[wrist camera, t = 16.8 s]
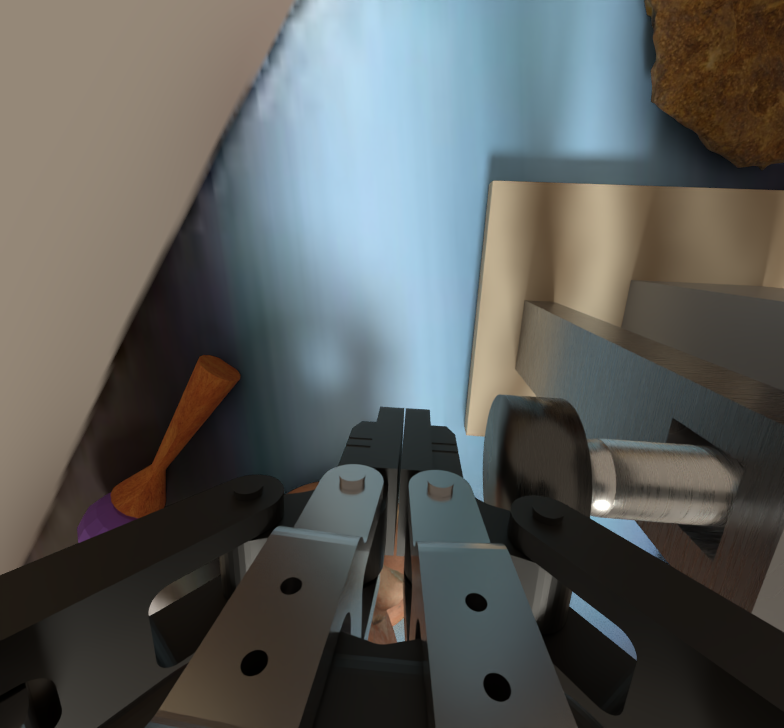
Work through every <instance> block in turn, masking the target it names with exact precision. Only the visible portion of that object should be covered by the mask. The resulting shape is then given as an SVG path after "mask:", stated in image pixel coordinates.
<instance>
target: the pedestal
mask: <svg viewBox="0 0 784 728" xmlns="http://www.w3.org/2000/svg"><path fill="white" fill-rule="evenodd" d="M621 328H623V329H626V330H628V331H631V332H633V333H636V334H638V335H641V336H644V337H646V338H649V339H651V340H654V341H657V342H659V343H662V344H664V345H667V346H669V347H672V348H675V349H677V350H680V351H682V352H685V353H687V354H690V355H693V356H695V357H698V358H700V359H703V360H706V361H708V362H711V363H713V364H716V365H718V366H721V367H724V368H726V369H729V370H731V371H734V372H736V373H739V374H742V375H744V376H747V377H749V378H752V379H755V380H757V381H760V382H762V383H765V384H767V385H770V386H773V387H775V388H778V389H780V390H783V391H784V288H775V287H766V286H749V285H728V284H706V283H685V282H664V281H642V280H631V283H630V287H629V292H628V297H627V302H626V307H625V311H624V316H623V321H622V326H621Z"/></svg>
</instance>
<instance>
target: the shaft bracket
mask: <svg viewBox="0 0 784 728" xmlns="http://www.w3.org/2000/svg"><path fill="white" fill-rule="evenodd" d="M515 370H516V371H517V372H518V374H519V375H520V376H521V377H522V379H523V380H524V381H525V382H526V384H527V385H528V386H529V387H530V389H531V390H532V391H533V393H534V394H535V395H536V396H537V397H548V398H562V399H565V400H567V401H568V402H569V403H571V405H572V406H573V407H574V408H575V410H576V412H577V413H578V415H579V418H580V420H581V422H582V425H583V428H584V431H585V434H586V438H587V439H591V438H599V439H614V440H628V441H643V442H657V443H672V444H686V445H701V446H715V447H718V448H719V449H721V450H722V451H724V452H725V453H727V454H728V455H730V456H731V457H733V458H734V459H736V460H737V461H739V462H740V463H742V464H743V465H745V468H744V471H743V474H742V477H741V480H740V483H739V486H738V489H737V492H736V495H735V498H734V501H733V504H732V507H731V510H730V513H729V516H728V519H727V522H726V525H725V527H714V526H701V525H689V524H676V523H664V522H651V521H639V520H635V521H636V523H637V524H638V525H639V526H640V528H641V529H642V530H643V531H644V533H645V534H646V535H647V537H648V538H649V539H650V540H651V542H652V543H653V544H654V545H655V547H656V548H657V549H658V550H659V552H660V553H661V554H662V556H663V557H664V558H665V559H666V561H667V562H668V563H669V564H670V566H672V567H673V568H675V569H677V570H679V571H680V572H682V573H684V574H685V575H687V576H689V577H690V578H692V579H694V580H696V581H697V582H699V583H701V584H702V585H704V586H706V587H708V588H709V589H711V590H713V591H714V592H716V593H718V594H719V595H721V596H723V597H725V598H726V599H728V600H730V601H731V602H733V603H735V604H736V605H738V606H740V607H742V608H743V609H745V610H747V611H748V612H750V613H752V614H754V615H755V616H757V617H759V618H760V619H762V620H764V621H765V622H767V623H769V624H771V625H772V626H774V627H776V628H777V629H779V630H781V631H782V632H784V391H783V390H780V389H778V388H775V387H773V386H770V385H767V384H765V383H762V382H760V381H757V380H755V379H752V378H749V377H747V376H744V375H742V374H739V373H736V372H734V371H731V370H729V369H726V368H724V367H721V366H718V365H716V364H713V363H711V362H708V361H706V360H703V359H700V358H698V357H695V356H693V355H690V354H687V353H685V352H682V351H680V350H677V349H675V348H672V347H669V346H667V345H664V344H662V343H659V342H657V341H654V340H651V339H649V338H646V337H644V336H641V335H638V334H636V333H633V332H631V331H628V330H626V329H623V328H620V327H618V326H615V325H613V324H610V323H608V322H605V321H602V320H600V319H597V318H595V317H592V316H589V315H587V314H584V313H582V312H579V311H577V310H574V309H571V308H569V307H566V306H564V305H561V304H559V303H556V302H549V301H529V300H525V301H524V308H523V315H522V323H521V330H520V337H519V345H518V352H517V359H516V367H515Z"/></svg>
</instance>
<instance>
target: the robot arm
mask: <svg viewBox="0 0 784 728" xmlns="http://www.w3.org/2000/svg"><path fill="white" fill-rule="evenodd" d="M403 422H404V408H392V407H380V411H379V415H378V419H377V422H367V421H362V422H360V423H359V424H358V425H356V426H355V427H354V428H352V431H351V433H350V436H349V439H348V441H347V444H346V447H345V449H344V452H343V454H342V457H341V460H340V462H339V465H338V467H335V468H333V469H331V470H329V471H327V472H326V473H325V474H324V475H323V477H322V478H321V480H320V482H319V484H318V485H317V487H316V489H314V490H310V491H306V492H300V493H292V494H284V489H283V485H282V483H281V482H280V481H279V480H278V479H276V478H274V477H271V476H267V475H248V476H243V477H239V478H236V479H233V480H231V481H228V482H226V483H223V484H221V485H218V486H216V487H214V488H211V489H209V490H206V491H204V492H201V493H199V494H197V495H194V496H192V497H189V498H187V499H184V500H182V501H180V502H177V503H175V504H172V505H170V506H167V507H165V508H163V509H160V510H158V511H155V512H153V513H150V514H148V515H146V516H143V517H141V518H138V519H136V520H133V521H131V522H129V523H126V524H124V525H121V526H119V527H116V528H114V529H112V530H109V531H107V532H104V533H102V534H99V535H97V536H95V537H92V538H90V539H87V540H85V541H82V542H80V543H78V544H75V545H73V546H70V547H68V548H65V549H63V550H61V551H58V552H56V553H53V554H51V555H48V556H46V557H44V558H41V559H39V560H36V561H34V562H31V563H29V564H27V565H24V566H22V567H19V568H17V569H14V570H12V571H10V572H7V573H5V574H2V575H0V728H784V632H782V631H781V630H779V629H777V628H776V627H774V626H772V625H771V624H769V623H767V622H765V621H764V620H762V619H760V618H759V617H757V616H755V615H754V614H752V613H750V612H748V611H747V610H745V609H743V608H742V607H740V606H738V605H736V604H735V603H733V602H731V601H730V600H728V599H726V598H725V597H723V596H721V595H719V594H718V593H716V592H714V591H713V590H711V589H709V588H708V587H706V586H704V585H702V584H701V583H699V582H697V581H696V580H694V579H692V578H690V577H689V576H687V575H685V574H684V573H682V572H680V571H679V570H677V569H675V568H673V567H672V566H670V565H668V564H667V563H665V562H663V561H661V560H660V559H658V558H656V557H655V556H653V555H651V554H650V553H648V552H646V551H644V550H643V549H641V548H639V547H638V546H636V545H634V544H633V543H631V542H629V541H627V540H626V539H624V538H622V537H621V536H619V535H617V534H615V533H614V532H612V531H610V530H609V529H607V528H605V527H604V526H602V525H600V524H598V523H597V522H595V521H593V520H592V519H590V518H588V517H587V516H585V515H583V514H581V513H580V512H578V511H576V510H575V509H573V508H571V507H569V506H568V505H566V504H564V503H562V502H560V501H558V500H555V499H552V498H548V497H544V496H534V495H531V496H524V497H520V498H518V499H516V500H515V501H514V502H513V503H512V505H511V510H510V511H509V510H506V509H502V508H498V507H495V506H492V505H489V504H486V503H484V502H482V501H480V500H478V499H477V498H475V496H474V493H473V490H472V488H471V486H470V484H469V483H468V482H467V481H466V480H465V479H464V478H463V474H462V469H461V464H460V459H459V454H458V448H457V443H456V437H455V434H454V433H453V432H452V431H451V430H449V429H448V428H447V427H446V426H431V424H430V410H425V409H409V408H406V415H405V426H404V437H403ZM402 442H403V449H402ZM399 488H400V493H399ZM398 499H399V513H398V533H397V552H396V556H404V576H403V604H404V629H405V641H404V642H397V643H391V644H376V643H373V642H370V641H368V636H369V632H370V627H371V622H372V618H373V613H374V608H375V604H376V599H377V594H378V590H379V585H380V572H381V570H382V568H383V563H384V555H390V556H394V545H395V534H396V522H397V511H398ZM218 557H219V560H220V570H221V575H220V576H218V577H216V578H215V579H213V580H211V581H210V582H208V583H206V584H204V585H203V586H201V587H199V588H197V589H196V590H194V591H192V592H191V593H189V594H187V595H185V596H184V597H182V598H180V599H178V600H177V601H175V602H173V603H172V604H170V605H168V606H166V607H165V608H163V609H161V610H160V611H158V612H156V613H154V614H153V615H151V616H149V615H148V611H149V607H150V604H151V602H152V600H153V599H154V597H155V596H156V595H157V594H158V593H159V592H160V591H161V590H162V589H163V588H164V587H166V586H167V585H169V584H171V583H172V582H174V581H176V580H178V579H180V578H182V577H183V576H185V575H187V574H189V573H191V572H193V571H194V570H196V569H198V568H200V567H202V566H204V565H205V564H207V563H209V562H211V561H213V560H215V559H216V558H218ZM572 591H573V592H574V593H575V594H577V595H578V596H579V597H580V598H582V599H583V600H584V601H586V602H587V603H588V604H590V605H591V606H592V607H593V608H595V609H596V610H597V611H599V612H600V613H601V614H603V615H604V616H605V617H606V618H608V619H609V620H610V621H612V622H613V623H614V624H616V625H617V626H618V627H619V628H620V629H621V630H622V631H623V632H624V633H625V634H626V635H627V636H628V637H629V639H630V640H631V642H632V644H633V646H634V648H635V651H636V654H637V661H636V660H635V659H634V658H633V657H631V656H630V655H629V654H628V653H626V652H625V651H624V650H623V649H621V648H620V647H619V646H618V645H616V644H615V643H614V642H613V641H611V640H610V639H609V638H608V637H607V636H605V635H604V634H603V633H602V632H600V631H599V630H598V629H597V628H595V627H594V626H593V625H592V624H590V623H589V622H588V621H587V620H585V619H584V618H583V617H582V616H580V615H579V614H578V613H577V612H575V611H574V610H573V609H572V608H571V607H569V604H570V600H571V595H572Z"/></svg>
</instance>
